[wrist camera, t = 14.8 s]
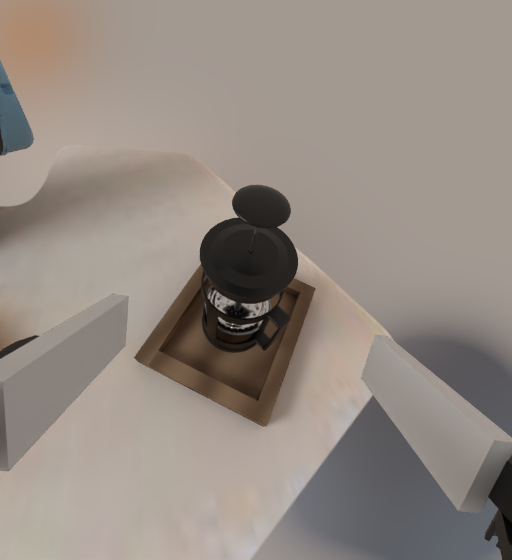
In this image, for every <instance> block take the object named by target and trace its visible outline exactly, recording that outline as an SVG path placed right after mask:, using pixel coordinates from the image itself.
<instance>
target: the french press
mask: <svg viewBox="0 0 512 560" xmlns="http://www.w3.org/2000/svg"><path fill="white" fill-rule="evenodd" d="M232 206H233V209H234V211H235V213H236V214H237V216H238V217H239V218H232V219H229V220H225V221H223V222H221V223H219V224H217V225H216V226H214V227H213V228H211V229H210V231H209V232H208V233H207V234H206V235H205V237H204V239H203V241H202V244H201V247H200V261H201V265H202V268H203V273H202V277H201V287H202V294H203V298H204V300H205V304H204V308H203V316H202V328H203V332H204V334H205V336H206V338H207V339H208V341H209V342H210V343H211V344H212V345H213V346H215V347H216V348H218V349H220V350H222V351H225V352H231V353H238V352H243V351H246V350H248V349H250V348H252V347H253V346H255V345H256V344H258V345H259V346H260V347H261V349H262V350H263V351H265V350H267V349H268V348H269V346H270V345H271V344H272V343H273V342H274V341H275V340H276V339H277V337H278V336H279V335H280V333H281V332H282V331H283V329H284V328H285V327H286V326H287V324H288V323H289V322H290V320H291V317H290V316H289V315H288V314H287V313H286V312H285V311H284V310H283V309H282V308H281V307H280V306H279V303H280V301H281V299H282V297H283V293H284V289H286V288H287V286H288V285H289V284H290V283H291V282H292V280H293V278H294V276H295V274H296V271H297V267H298V257H297V252H296V249H295V247H294V245H293V243H292V242H291V240H290V239H289V237H288V236H287V235H286V234H285V233H284V232H283V231H281V230H280V229H279V228H277V227H278V226H280V225H282V224H283V223H285V222H286V221H287V220H288V218H289V216H290V213H291V208H290V204H289V202H288V200H287V199H286V198H285V196H284V195H282V194H281V193H280V192H278V191H277V190H275V189H273V188H270V187H267V186H263V185H250V186H246V187H244V188H241V189H240V190H239V191H238V192H236V194H235V195H234V197H233V200H232ZM205 276H207V278H208V280H209V282H210V284H211V287H210V288H209V290H208V292H207V294H206V293H205V290H204V286H203V283H204V279H205ZM279 293H280V296H279V300H278V303H277V304H276V305H275V306H274V307H273V309H271V301H270V299H271V298H273V297H274V296H276V295H277V294H279ZM269 320H271V321H272V322H273V323H274V324H275V325H276V326H277V327H278V329H277V330H276V332H275V333H274V335H273V336H272V337H271V339H270V338H269V337H268V336H267V335H266V334H265V333H264V330H265V327H266V326H267V324H268V322H269ZM217 328H218V329H219V330H221V331H223V332H226V333H229V334H233V335H246V334H250V333H252V332H254V333H253V335H252V336H251V337H249V338H248V339H247V340H244V341H242V342H236V343H233V342H228V341H225V340H223V339H221V338H220V337H218V336H217Z"/></svg>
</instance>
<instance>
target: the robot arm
mask: <svg viewBox="0 0 512 560" xmlns="http://www.w3.org/2000/svg"><path fill="white" fill-rule="evenodd" d="M33 140H34V138H33V134H32V131H31V128H30V126H29V124H28V121H27V119H26V117H25V114H24V112H23V110H22V108H21V105H20V103H19V101H18V99H17V97H16V95H15V92H14V91H13V89H12V86H11V84H10V82H9V79H8V77H7V75H6V72H5V70H4V68H3V66H2V63H1V61H0V155H6V154H7V153H8V152H13V151H18V150H22V149H26V148H28V147H30V146H31V145H32V143H33ZM128 297H129V296H124V295H117V294H112V295H110V296H108V297H106V298H105V299H103V300H101V301H99V302H98V303H96V304H94V305H93V306H91V307H89V308H87V309H86V310H84V311H82V312H80V313H79V314H77V315H75V316H74V317H72V318H70V319H68V320H67V321H65V322H63V323H62V324H60V325H58V326H56V327H55V328H53V329H51V330H49V331H48V332H46V333H44V334H43V335H41V336H36V335H35V336H32V337H29V338H26V339H23V340H20V341H17V342H15V343H13V344H11V345H9V346H8V347H6V348H4V349H2V351H0V471H10V469H11V468H12V467H13V466H14V465H15V464H16V463H17V462H18V461H19V460H20V459H21V458H22V456H23V455H24V454H25V453H26V452H27V451H28V450H29V449H30V448H31V447H32V446H33V445H34V444H35V442H36V441H37V440H38V439H39V438H40V437H41V436H42V435H43V434H44V433H45V432H46V431H47V430H48V428H49V427H50V426H51V425H52V424H53V423H54V422H55V421H56V420H57V419H58V418H59V417H60V415H61V414H62V413H63V412H64V411H65V410H66V409H67V408H68V407H69V406H70V405H71V404H72V403H73V401H74V400H75V399H76V398H77V397H78V396H79V395H80V394H81V393H82V392H83V391H84V390H85V389H86V387H87V386H88V385H89V384H90V383H91V382H92V381H93V380H94V379H95V378H96V377H97V376H98V375H99V373H100V372H101V371H102V370H103V369H104V368H105V367H106V366H107V365H108V364H109V363H110V362H111V360H112V359H113V358H114V357H115V356H116V355H117V354H118V353H119V352H120V351H121V350H122V349H123V348H124V346H125V342H126V327H127V312H128ZM361 379H362V380H363V381H364V383H365V384H366V385H367V387H368V388H369V390H370V391H371V392H372V394H373V395H374V396H375V398H376V399H377V400H378V402H379V403H380V405H381V406H382V407H383V408H384V410H385V411H386V413H387V414H388V416H389V417H390V418H391V420H392V421H393V422H394V424H395V425H396V426H397V428H398V429H399V431H400V432H401V433H402V435H403V436H404V437H405V439H406V440H407V441H408V443H409V444H410V446H411V447H412V448H413V450H414V451H415V452H416V454H417V455H418V456H419V458H420V459H421V461H422V462H423V463H424V465H425V466H426V467H427V469H428V470H429V471H430V473H431V474H432V476H433V477H434V478H435V480H436V481H437V482H438V484H439V485H440V486H441V488H442V489H443V490H444V492H445V493H446V494H447V496H448V497H449V499H450V500H451V501H452V503H453V504H454V505H455V507H456V508H457V510H458V511H466V512H476V513H481V511H482V509H483V507H484V505H485V503H486V502H487V500H488V498H490V499H491V501H492V502H493V503H494V504H495V505H496V506H497V507H498V511H497V513H496V515H495V516H494V518H493V520H492V522H491V524H490V525H489V527H488V529H487V531H486V533H485V539H486V540H488V541H490V539H491V537H492V536H498V540H499V541H498V543H497V544H496V547H498V548H499V549H500V550H501V555H502V560H512V438H511V437H510V436H509V435H508V434H506V433H505V432H504V431H502V430H501V429H500V428H499V427H498V426H496V425H495V424H494V423H493V422H492V421H490V420H489V419H488V418H487V417H486V416H484V415H483V414H482V413H481V412H480V411H478V410H477V409H476V408H475V407H473V406H472V405H471V404H470V403H469V402H467V401H466V400H465V399H464V398H462V397H461V396H460V395H459V394H458V393H456V392H455V391H454V390H453V389H452V388H450V387H449V386H448V385H447V384H445V383H444V382H443V381H442V380H441V379H439V378H438V377H437V376H435V375H434V374H433V373H432V372H430V371H429V370H428V369H427V368H426V367H425V366H424V365H422V364H421V363H420V362H418V361H417V360H416V359H415V358H414V357H413V356H411V355H410V354H409V353H408V352H406V351H405V350H404V349H403V348H401V347H400V346H399V345H398V344H397V343H395V342H394V341H393V340H392V339H391V338H389V337H388V336H382V335H376V334H375V336H374V339H373V342H372V345H371V348H370V351H369V354H368V357H367V361H366V364H365V367H364V370H363V373H362V376H361Z"/></svg>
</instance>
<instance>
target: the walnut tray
mask: <svg viewBox="0 0 512 560" xmlns="http://www.w3.org/2000/svg"><path fill="white" fill-rule="evenodd" d="M202 273H203V268H202V265H200V266H199V268H198V269H197V270H196V272H195V273H194V275H193V276H192V277H191V279H190V280H189V282H188V283H187V284H186V286H185V287H184V289H183V290H182V291H181V293H180V294H179V296H178V297H177V298H176V300H175V301H174V303H173V304H172V305H171V307H170V308H169V310H168V311H167V312H166V314H165V315H164V317H163V318H162V319H161V321H160V322H159V324H158V325H157V326H156V328H155V329H154V331H153V332H152V333H151V335H150V336H149V338H148V339H147V340H146V342H145V343H144V345H143V346H142V347H141V349H140V350H139V352H138V353H137V354H136V356H135V357H134V358H135V359H136V360H137V361H138V362H140V363H142V364H143V365H145V366H147V367H149V368H151V369H153V370H155V371H157V372H159V373H161V374H163V375H165V376H167V377H169V378H170V379H172V380H174V381H176V382H178V383H180V384H182V385H184V386H186V387H188V388H190V389H192V390H194V391H196V392H197V393H199V394H201V395H203V396H205V397H207V398H209V399H211V400H213V401H215V402H217V403H219V404H221V405H223V406H225V407H226V408H228V409H230V410H232V411H234V412H236V413H238V414H240V415H242V416H244V417H246V418H248V419H250V420H252V421H253V422H255V423H257V424H259V425H261V426H267V424H268V421H269V419H270V416H271V413H272V410H273V407H274V404H275V402H276V399H277V396H278V393H279V390H280V387H281V385H282V382H283V379H284V376H285V373H286V370H287V367H288V365H289V362H290V359H291V356H292V353H293V350H294V348H295V345H296V342H297V339H298V336H299V333H300V331H301V328H302V325H303V322H304V319H305V316H306V314H307V311H308V308H309V305H310V302H311V299H312V297H313V294H314V291H315V288H314V287H312V286H309V285H307V284H305V283H303V282H301V281H299V280H296V279H294V278H293V280H292V282H291V283H290V284H289V285H288V286H287V288H286V289H284V293H283V297H282V299H281V301H280V303H279V306H280V307H281V308H282V309H283V310H284V311H285V312H286V313H287V314H288V315H289V316H290V317H291V320H290V322H289V323H288V324H287V326H286V327H285V328H284V329H283V331H282V332H281V333H280V335H279V336H278V337H277V339H276V340H275V341H274V342H273V343H272V344H271V345H270V346H269V348H268V349H267V350H265V351H263V350H262V349H261V347H260V346H259V345H258V344H256V345H255V346H253V347H252V348H250V349H248V350H246V351H243V352H238V353H231V352H225V351H222V350H220V349H218V348H216V347H215V346H213V345H212V344H211V343H210V342H209V341H208V339H207V338H206V336H205V334H204V332H203V328H202V316H203V308H204V304H205V300H204V298H203V294H202V287H201V277H202ZM203 286H204V290H205V293H206V294H207V292H208V290H209V288H210V287H211V284H210V282H209V280H208V278H207V276H205V279H204V283H203ZM279 296H280V293H279V294H277V295H276V296H274V297H273V298H271V299H270V301H271V309H273V307H274V306H275V305H276V304H277V303H278V300H279ZM277 329H278V327H277V326H276V325H275V324H274V323H273V322H272V321H271V320H269V322H268V324H267V326H266V327H265V330H264V333H265V334H266V335H267V336H268V337H269V338H270V339H271V337H272V336H273V335H274V333H275V332H276V330H277ZM253 333H254V332H252V333H250V334H246V335H233V334H229V333H226V332H223V331H221V330H219V329H218V328H217V336H218V337H220V338H221V339H223V340H225V341H228V342H233V343H236V342H242V341H244V340H247V339H248V338H249V337H251V336H252V335H253Z"/></svg>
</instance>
